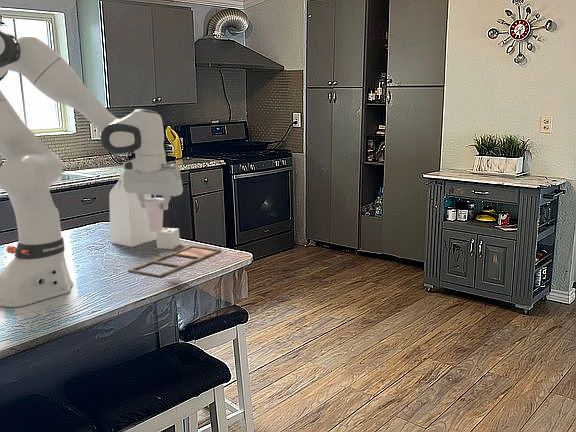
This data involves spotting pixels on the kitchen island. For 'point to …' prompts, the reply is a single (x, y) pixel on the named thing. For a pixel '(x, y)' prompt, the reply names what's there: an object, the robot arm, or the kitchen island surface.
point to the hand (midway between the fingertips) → (154, 208)
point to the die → (168, 238)
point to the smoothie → (154, 213)
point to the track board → (188, 252)
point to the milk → (128, 217)
